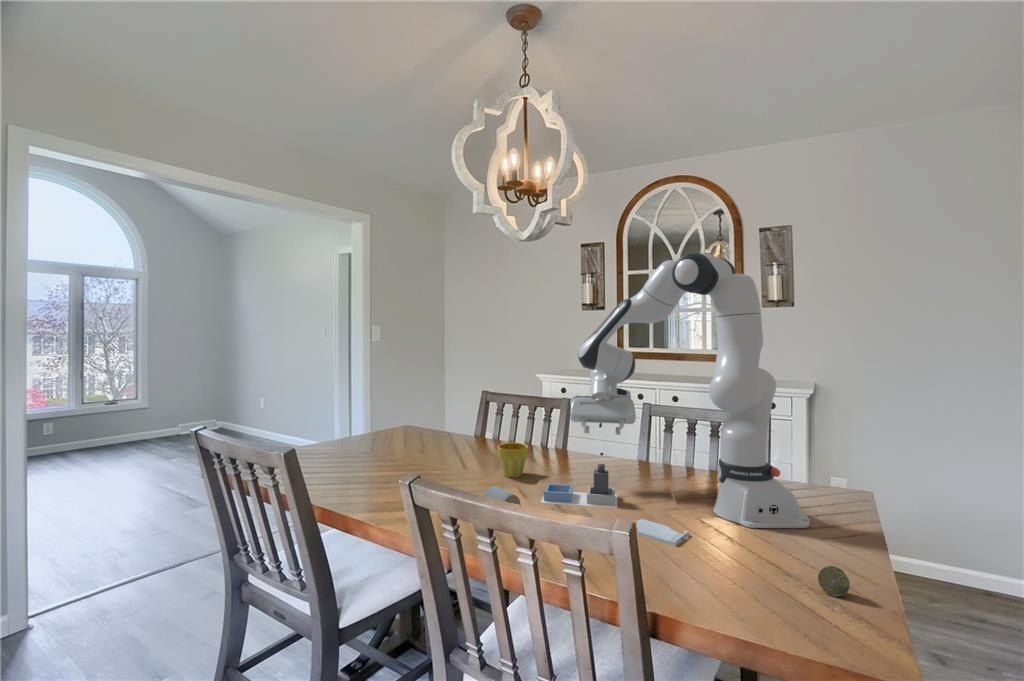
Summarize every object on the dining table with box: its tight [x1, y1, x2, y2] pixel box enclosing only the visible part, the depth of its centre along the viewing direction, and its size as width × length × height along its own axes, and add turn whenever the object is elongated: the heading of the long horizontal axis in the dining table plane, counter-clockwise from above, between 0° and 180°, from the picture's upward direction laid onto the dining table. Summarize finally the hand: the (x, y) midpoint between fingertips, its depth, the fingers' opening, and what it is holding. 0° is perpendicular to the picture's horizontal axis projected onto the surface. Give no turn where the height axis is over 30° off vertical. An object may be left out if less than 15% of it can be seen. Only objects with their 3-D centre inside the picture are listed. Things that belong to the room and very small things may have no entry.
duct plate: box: [540, 483, 618, 509], centre depth 145 cm, size 21×11×4 cm, turn 78°
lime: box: [817, 565, 851, 597], centre depth 95 cm, size 4×5×5 cm
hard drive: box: [635, 518, 690, 547], centre depth 123 cm, size 2×8×12 cm
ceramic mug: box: [482, 485, 521, 506], centre depth 134 cm, size 11×8×8 cm
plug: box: [593, 463, 609, 495], centre depth 143 cm, size 4×4×10 cm
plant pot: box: [497, 442, 529, 478], centre depth 171 cm, size 10×10×10 cm
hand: (602, 432), depth 155 cm, fingers open, 8 cm apart
